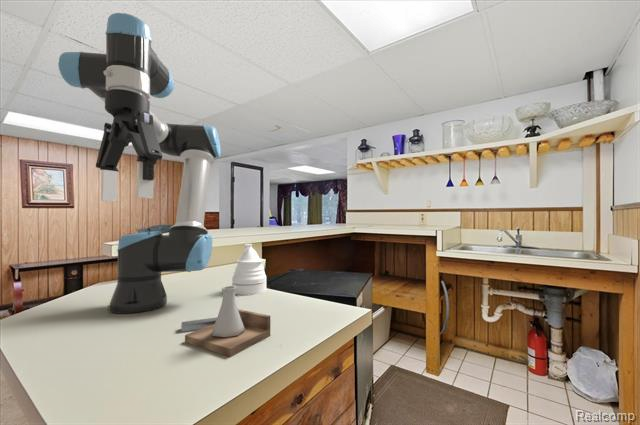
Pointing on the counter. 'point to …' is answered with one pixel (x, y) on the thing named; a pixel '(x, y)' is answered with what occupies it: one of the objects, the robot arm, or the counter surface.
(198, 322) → the grey rectangular bar
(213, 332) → the flask
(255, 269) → the honey pot
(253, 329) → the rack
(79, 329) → the counter surface
